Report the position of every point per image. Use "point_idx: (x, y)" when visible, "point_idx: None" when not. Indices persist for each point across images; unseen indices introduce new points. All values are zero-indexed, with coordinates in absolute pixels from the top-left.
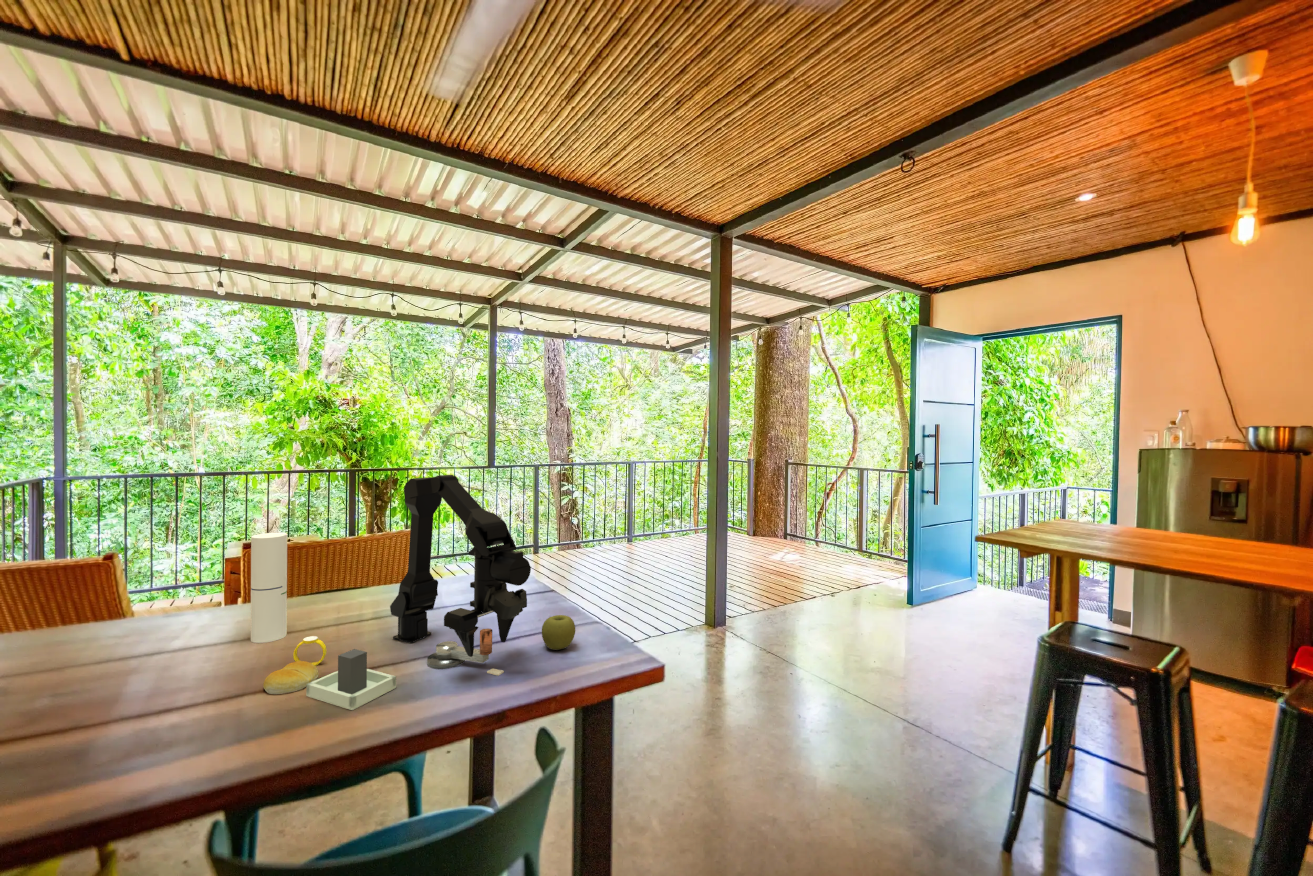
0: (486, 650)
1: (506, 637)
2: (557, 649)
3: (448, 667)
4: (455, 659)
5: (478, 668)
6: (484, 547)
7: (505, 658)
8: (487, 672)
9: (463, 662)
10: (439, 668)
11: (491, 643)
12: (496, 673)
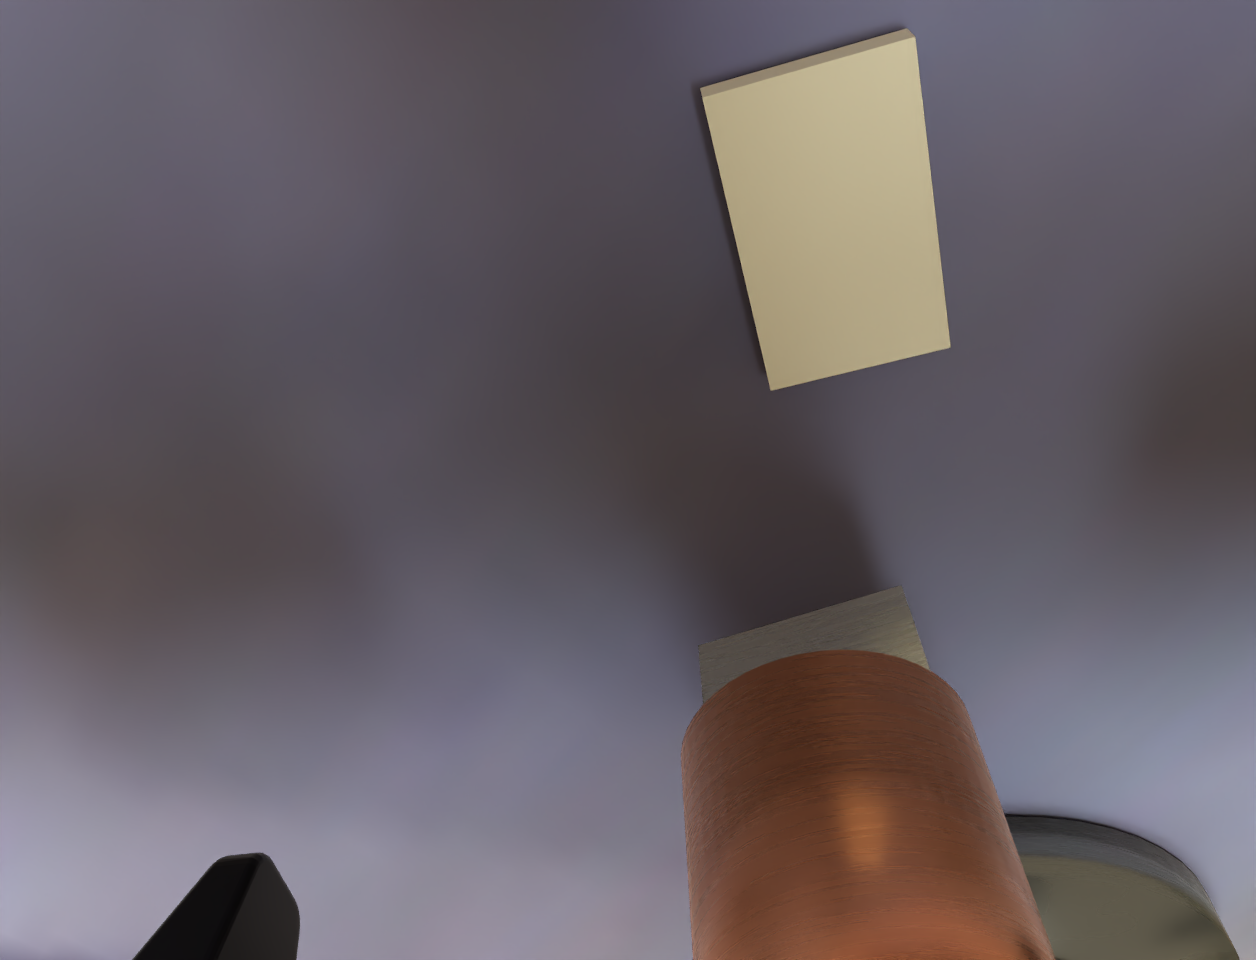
0: (943, 758)
1: (157, 953)
2: None
3: (1129, 842)
4: None
5: (877, 583)
6: None
7: (303, 584)
8: (942, 328)
9: None
10: (1200, 883)
11: (808, 895)
12: (906, 110)
